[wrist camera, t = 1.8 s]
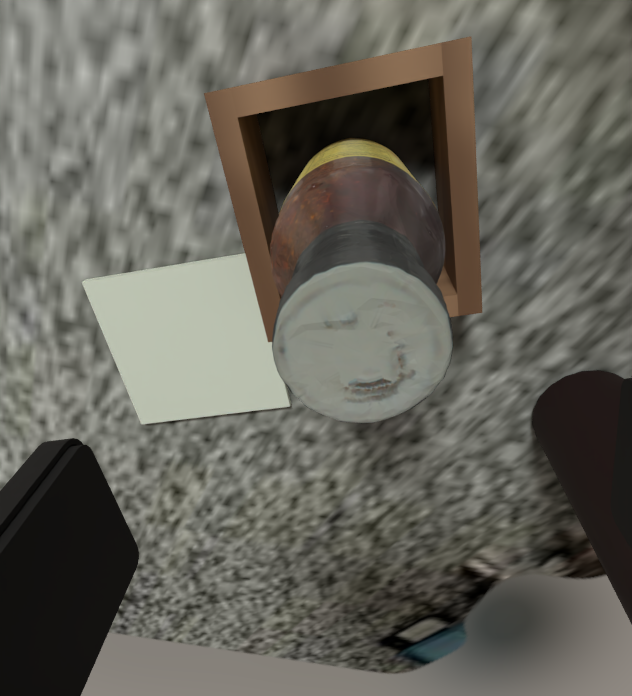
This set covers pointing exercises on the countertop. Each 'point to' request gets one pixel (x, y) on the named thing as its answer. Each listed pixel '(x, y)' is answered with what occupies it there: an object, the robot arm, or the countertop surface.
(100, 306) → the sage mat
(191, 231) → the countertop surface
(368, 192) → the sauce bottle
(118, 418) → the countertop surface
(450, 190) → the frame
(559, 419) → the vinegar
